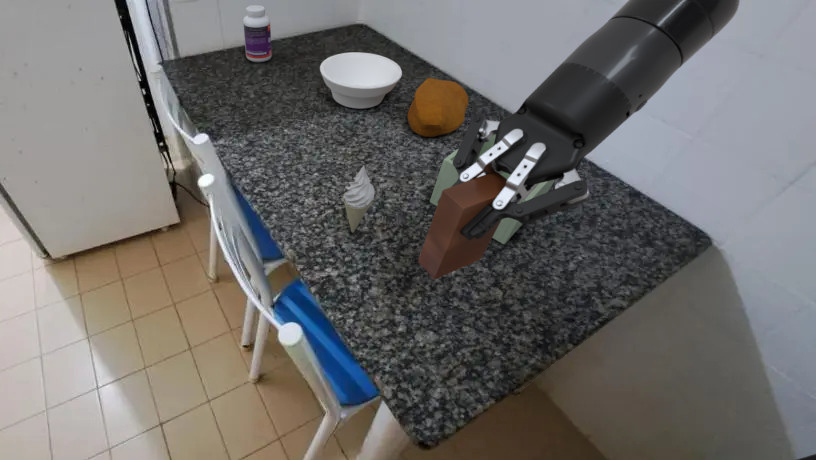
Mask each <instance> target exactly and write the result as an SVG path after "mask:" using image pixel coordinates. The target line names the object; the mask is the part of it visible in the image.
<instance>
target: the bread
mask: <svg viewBox="0 0 816 460" xmlns="http://www.w3.org/2000/svg"><path fill="white" fill-rule="evenodd" d="M468 105H469V95H468V94H467V92H466V91H465V89H464V87H463V86H462V85H460V84H459V83H457V81H451V80H445V79H437V78H432V77H427V78H426V79H425V80H424V81H423V82H422V83H421V84H420V85H419V86H418V87H417V89H416V90H415V92H414V97H413V100H412V102H411V104H410V107H409V109H408V111H407V121H408V125H409V127H410V129H411V130H412V131H413V132H414V133H415V134H417V135H419V136H422V137H425V138H434V137H438V136H441V135H442V136H443V135H446V134H449V133H453V131H456V130H457V129H458V128H460V127H461V126H462V124H463V123H464V121H465V118H466V117H465V116H466V111H467V108H468Z"/></svg>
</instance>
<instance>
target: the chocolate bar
mask: <svg viewBox="0 0 816 460" xmlns="http://www.w3.org/2000/svg"><path fill="white" fill-rule="evenodd" d="M506 181H507V179H506V178H505V177H504V176H502V175H501V174H500V173H498V172H497V173H493V174H486V175H483V176H480V177H478V178H475V179H472V180H469V181H467V182H464V183H461V184H458V185H455V186H453V187H450V188H447V189H444V190H443V191H442V194H441V197H440V200H439V202H438V205H437V206H436V208H435V211H434V214H433V217H432V220H431V223H430V226H429V229H428V231H427V234H426V237H425V239H424V243H423V246H422V247H421V252H420V253H419V254H420V255H419V257H418V261H417V262H418V264H419V265H420V266H421V267H422V268H423V269H424V271H425V272H426V273H428V275H429V276H430V277H431V278H432V279H433V280H434V281H435V280H438V279H439V278H442V277H444V276H446V275H448V274H451V273H453V272H456V271H457V270H459V269H462V268H464V267H466V266H468V265H471V264H473V263H476V262H478V261H479V260H482V258H483V256H484V254H485V252H486V250H487V248H488V246H489V245H490V243H491V241H492V239H493V238H492V237H493V235H494V233H495V231H496V229H497V228H498V226H499V224H500V222H501V221H500V222H498V223H497V224H496V225H495V226H494V227H493V228H492V229H491V230H490V231H489V232H487V233H486V234H485V235H484V236H483V237H482V238H479V239H476V238H475V237H474V238H473V239H472V240H468V239H467V238H465V237H464V236H463V235H462V234H461V233H460V230H461V229H462V228H463V227H464V226H465V225H466V224H467V223H468V222H469V221H470V220H471V219H472V218H474V217H475V216H476V215H477V214H478V213H479V212H480V211H481V210H482V209H483V208H484V207H485V206H486V205H487V204H488V205H489V206H491V205H492V204H493V201H494V200H495V198H496V197H497V196H498V195H499V193H500V192H501V191H502V189H503V188H504V187H505V184H506Z"/></svg>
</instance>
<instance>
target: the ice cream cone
mask: <svg viewBox="0 0 816 460" xmlns="http://www.w3.org/2000/svg"><path fill="white" fill-rule="evenodd" d="M353 180H354V181H349V182H348V185H350V186H345V187H344V188H345V189H346V190H347V191H345V192H344V193H343V195H342V201H343V203H344V206H345V207H344V208H345V211H346V215H347V219H348V223H349V229H350V232H351V233H355V231H356V230H357V228H358V226H359V224H360V223H361V221H362V219H363V218H364V216H365V215H366V213H367V211H368V210H369V208H370V206H371V205H372V204H373V201H374V199H375V195H376V194H375V193H376V192H375V189H374V185H373V184H372V183H370V182H371V180H370V178H369V175H368V173H367V170H366V167H365V165H364V164H363V165H362V167H361V168H360V170H359V171H358V173H357V174H356V175H355V176H354V177H353Z"/></svg>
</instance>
